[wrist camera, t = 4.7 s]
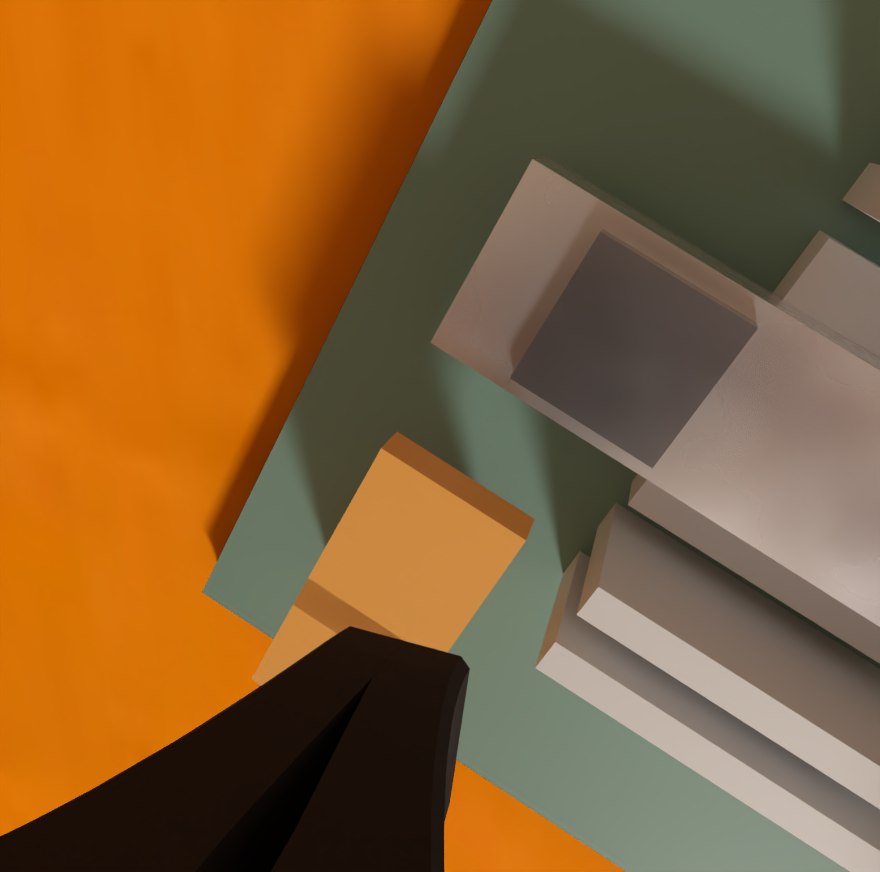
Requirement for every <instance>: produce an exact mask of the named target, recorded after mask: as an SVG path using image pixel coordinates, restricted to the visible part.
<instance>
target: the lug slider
mask: <svg viewBox="0 0 880 872" xmlns="http://www.w3.org/2000/svg"><path fill="white" fill-rule="evenodd" d="M534 520H535V519H534V518H532V517H531V516H529V515H528V514H526V513H525V512H523V511H521V510H520V509H518V508H517V507H515V506H514V505H512V504H510V503H509V502H507V501H506V500H504V499H503V498H501V497H499V496H498V495H496V494H495V493H493V492H492V491H490V490H488V489H487V488H485V487H484V486H482V485H481V484H479V483H477V482H476V481H474V480H473V479H471V478H470V477H468V476H466V475H465V474H463V473H462V472H460V471H458V470H457V469H455V468H454V467H452V466H451V465H449V464H447V463H446V462H444V461H443V460H441V459H440V458H438V457H436V456H435V455H433V454H432V453H430V452H429V451H427V450H425V449H424V448H422V447H421V446H419V445H418V444H416V443H414V442H413V441H411V440H410V439H408V438H407V437H405V436H403V435H402V434H400V433H399V432H396V433H395V434H394V435H393V436H392V437H391V438H390V439H389V440H388V441H387V443H386V444H385V445H384V446H383V447H382V448H381V449H380V451H379V453H378V455H377V456H376V458H375V460H374V462H373V464H372V465H371V467H370V469H369V471H368V472H367V474H366V476H365V478H364V480H363V481H362V483H361V485H360V487H359V488H358V490H357V492H356V494H355V496H354V497H353V499H352V501H351V503H350V504H349V506H348V508H347V510H346V512H345V513H344V515H343V517H342V519H341V520H340V522H339V524H338V526H337V527H336V529H335V531H334V533H333V535H332V536H331V538H330V540H329V542H328V543H327V545H326V547H325V549H324V551H323V552H322V554H321V556H320V558H319V559H318V561H317V563H316V565H315V567H314V568H313V570H312V572H311V574H310V575H309V577H308V579H307V581H306V583H305V584H304V586H303V588H302V590H301V591H300V593H299V595H298V597H297V599H296V600H295V602H294V604H293V606H292V607H291V609H290V611H289V613H288V615H287V616H286V618H285V620H284V622H283V623H282V625H281V627H280V629H279V631H278V632H277V634H276V636H275V638H274V639H273V641H272V643H271V645H270V647H269V648H268V650H267V652H266V654H265V655H264V657H263V659H262V661H261V663H260V664H259V666H258V668H257V670H256V671H255V673H254V675H253V677H252V679H251V680H253V681H254V682H256V683H257V684H259V685H260V686H261V685H263V684H264V683H266V682H267V681H269V680H270V679H272V678H273V677H275V676H276V675H278V674H279V673H281V672H282V671H284V670H285V669H286V668H288V667H289V666H291V665H292V664H294V663H295V662H297V661H298V660H300V659H301V658H302V657H304V656H305V655H307V654H308V653H310V652H311V651H313V650H314V649H315V648H317V647H318V646H320V645H321V644H323V643H324V642H326V641H327V640H329V639H330V638H332V637H333V636H335V635H336V634H338V633H339V632H341V631H343V630H344V629H346V628H348V627H349V626H351V627H355V628H359V629H363V630H366V631H370V632H374V633H377V634H381V635H385V636H388V637H392V638H396V639H400V640H403V641H407V642H411V643H414V644H418V645H422V646H426V647H429V648H433V649H437V650H440V651H444V652H448V651H449V650H450V648H451V647H452V645H453V644H454V643H455V641H456V640H457V638H458V637H459V635H460V634H461V633H462V631H463V630H464V628H465V627H466V625H467V624H468V623H469V621H470V620H471V618H472V617H473V616H474V614H475V613H476V611H477V610H478V608H479V607H480V606H481V604H482V603H483V601H484V600H485V598H486V597H487V596H488V594H489V593H490V591H491V590H492V588H493V587H494V586H495V584H496V583H497V581H498V580H499V579H500V577H501V576H502V574H503V573H504V571H505V570H506V569H507V567H508V566H509V564H510V563H511V561H512V560H513V559H514V557H515V556H516V554H517V553H518V551H519V550H520V549H521V547H522V546H523V544H524V543H525V541H526V540H527V537H528V535H529V532H530V530H531V527H532V525H533V522H534Z"/></svg>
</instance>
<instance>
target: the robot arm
mask: <svg viewBox="0 0 880 872" xmlns="http://www.w3.org/2000/svg"><path fill="white" fill-rule="evenodd" d="M469 671H470V668H469V667H468V665H467V664H466V662H465V661H464V660H463V658H462V657H461V656H459V655H455V654H451V653H448V652H444V651H440V650H437V649H433V648H429V647H426V646H422V645H418V644H414V643H411V642H407V641H403V640H400V639H396V638H392V637H388V636H385V635H381V634H377V633H374V632H370V631H366V630H363V629H359V628H355V627H351V626H349V627H348V628H346V629H344V630H343V631H341V632H339V633H338V634H336V635H335V636H333V637H332V638H330V639H329V640H327V641H326V642H324V643H323V644H321V645H320V646H318V647H317V648H315V649H314V650H313V651H311V652H310V653H308V654H307V655H305V656H304V657H302V658H301V659H300V660H298V661H297V662H295V663H294V664H292V665H291V666H289V667H288V668H286V669H285V670H284V671H282V672H281V673H279V674H278V675H276V676H275V677H273V678H272V679H270V680H269V681H267V682H266V683H264V684H263V685H261V686H260V687H259V688H257V689H256V690H254V691H253V692H251V693H250V694H248V695H247V696H245V697H243V698H242V699H240V700H239V701H237V702H236V703H234V704H233V705H231V706H229V707H228V708H226V709H225V710H223V711H222V712H220V713H219V714H217V715H215V716H214V717H212V718H211V719H209V720H208V721H206V722H205V723H203V724H202V725H200V726H198V727H197V728H195V729H194V730H192V731H191V732H189V733H187V734H186V735H184V736H183V737H181V738H179V739H178V740H176V741H174V742H173V743H171V744H169V745H168V746H166V747H164V748H163V749H161V750H159V751H157V752H156V753H154V754H152V755H151V756H149V757H147V758H145V759H144V760H142V761H140V762H138V763H137V764H135V765H133V766H132V767H130V768H128V769H126V770H125V771H123V772H121V773H119V774H118V775H116V776H114V777H113V778H111V779H109V780H107V781H106V782H104V783H102V784H101V785H99V786H97V787H95V788H93V789H92V790H90V791H88V792H86V793H84V794H83V795H81V796H79V797H77V798H75V799H73V800H71V801H69V802H67V803H66V804H64V805H62V806H60V807H58V808H56V809H54V810H52V811H51V812H49V813H47V814H45V815H43V816H41V817H39V818H37V819H35V820H33V821H31V822H29V823H27V824H25V825H23V826H21V827H19V828H17V829H15V830H13V831H11V832H9V833H7V834H4V835H2V836H0V872H444V821H445V817H446V814H447V810H448V807H449V803H450V797H451V790H452V783H453V777H454V770H455V764H456V757H457V750H458V744H459V737H460V731H461V724H462V717H463V711H464V704H465V698H466V691H467V684H468V678H469Z"/></svg>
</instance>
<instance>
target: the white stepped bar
mask: <svg viewBox="0 0 880 872" xmlns="http://www.w3.org/2000/svg"><path fill="white" fill-rule="evenodd" d="M430 343H432V344H433V345H435V346H437V347H438V348H440V349H441V350H443V351H445V352H446V353H448V354H449V355H451V356H452V357H454V358H456V359H457V360H459V361H460V362H462V363H463V364H465V365H467V366H468V367H470V368H471V369H473V370H475V371H476V372H478V373H479V374H481V375H482V376H484V377H486V378H487V379H489V380H490V381H492V382H493V383H495V384H497V385H498V386H500V387H501V388H503V389H505V390H506V391H508V392H509V393H511V394H512V395H514V396H516V397H517V398H519V399H520V400H522V401H523V402H525V403H527V404H528V405H530V406H531V407H533V408H535V409H536V410H538V411H539V412H541V413H542V414H544V415H546V416H547V417H549V418H550V419H552V420H554V421H555V422H557V423H558V424H560V425H561V426H563V427H565V428H566V429H568V430H569V431H571V432H572V433H574V434H576V435H577V436H579V437H580V438H582V439H584V440H585V441H587V442H588V443H590V444H591V445H593V446H595V447H596V448H598V449H599V450H601V451H602V452H604V453H606V454H607V455H609V456H610V457H612V458H614V459H615V460H617V461H618V462H620V463H621V464H623V465H625V466H626V467H628V468H629V469H631V470H633V471H634V472H636V473H637V474H639V475H640V476H642V477H644V478H645V479H647V480H648V481H650V482H651V483H653V484H655V485H656V486H658V487H659V488H661V489H663V490H664V491H666V492H667V493H669V494H670V495H672V496H674V497H675V498H677V499H678V500H680V501H681V502H683V503H685V504H686V505H688V506H689V507H691V508H693V509H694V510H696V511H697V512H699V513H700V514H702V515H704V516H705V517H707V518H708V519H710V520H711V521H713V522H715V523H716V524H718V525H719V526H721V527H723V528H724V529H726V530H727V531H729V532H730V533H732V534H734V535H735V536H737V537H738V538H740V539H742V540H743V541H745V542H746V543H748V544H749V545H751V546H753V547H754V548H756V549H757V550H759V551H760V552H762V553H764V554H765V555H767V556H768V557H770V558H772V559H773V560H775V561H776V562H778V563H779V564H781V565H783V566H784V567H786V568H787V569H789V570H790V571H792V572H794V573H795V574H797V575H798V576H800V577H802V578H803V579H805V580H806V581H808V582H809V583H811V584H813V585H814V586H816V587H817V588H819V589H820V590H822V591H824V592H825V593H827V594H828V595H830V596H832V597H833V598H835V599H836V600H838V601H839V602H841V603H843V604H844V605H846V606H847V607H849V608H851V609H852V610H854V611H855V612H857V613H858V614H860V615H862V616H863V617H865V618H866V619H868V620H869V621H871V622H873V623H874V624H876V625H877V626H879V627H880V358H879V357H877V356H876V355H874V354H872V353H871V352H869V351H867V350H866V349H864V348H863V347H861V346H859V345H858V344H856V343H854V342H853V341H851V340H849V339H848V338H846V337H844V336H843V335H841V334H840V333H838V332H836V331H835V330H833V329H831V328H830V327H828V326H826V325H825V324H823V323H821V322H820V321H818V320H817V319H815V318H813V317H812V316H810V315H808V314H807V313H805V312H803V311H802V310H800V309H798V308H797V307H795V306H793V305H792V304H790V303H788V302H787V301H785V300H784V299H782V298H780V297H779V296H777V295H775V294H774V293H772V292H771V291H769V290H767V289H766V288H764V287H762V286H761V285H759V284H757V283H756V282H754V281H752V280H751V279H749V278H748V277H746V276H744V275H743V274H741V273H739V272H738V271H736V270H734V269H733V268H731V267H729V266H728V265H726V264H725V263H723V262H721V261H720V260H718V259H716V258H715V257H713V256H711V255H710V254H708V253H706V252H705V251H703V250H702V249H700V248H698V247H697V246H695V245H693V244H692V243H690V242H688V241H687V240H685V239H683V238H682V237H680V236H679V235H677V234H675V233H674V232H672V231H670V230H669V229H667V228H665V227H664V226H662V225H660V224H659V223H657V222H656V221H654V220H652V219H651V218H649V217H647V216H646V215H644V214H642V213H641V212H639V211H637V210H636V209H634V208H633V207H631V206H629V205H628V204H626V203H624V202H623V201H621V200H619V199H618V198H616V197H614V196H613V195H611V194H610V193H608V192H606V191H605V190H603V189H601V188H600V187H598V186H596V185H595V184H593V183H591V182H590V181H588V180H587V179H585V178H583V177H582V176H580V175H578V174H577V173H575V172H573V171H572V170H570V169H568V168H567V167H565V166H564V165H562V164H560V163H559V162H557V161H555V160H554V159H552V158H550V157H549V156H544V157H539V158H534V159H532V161H531V162H530V164H529V166H528V168H527V170H526V171H525V173H524V175H523V177H522V179H521V180H520V182H519V184H518V186H517V188H516V189H515V191H514V193H513V195H512V197H511V198H510V200H509V202H508V204H507V206H506V207H505V209H504V211H503V213H502V215H501V216H500V218H499V220H498V222H497V224H496V225H495V227H494V229H493V231H492V233H491V234H490V236H489V238H488V240H487V242H486V243H485V245H484V247H483V249H482V251H481V252H480V254H479V256H478V258H477V260H476V261H475V263H474V265H473V267H472V268H471V270H470V272H469V274H468V276H467V277H466V279H465V281H464V283H463V285H462V286H461V288H460V290H459V292H458V294H457V295H456V297H455V299H454V301H453V303H452V304H451V306H450V308H449V310H448V312H447V313H446V315H445V317H444V319H443V321H442V322H441V324H440V326H439V328H438V330H437V331H436V333H435V335H434V337H433V339H432V340H431V342H430Z"/></svg>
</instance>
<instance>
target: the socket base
mask: <svg viewBox="0 0 880 872" xmlns="http://www.w3.org/2000/svg"><path fill="white" fill-rule="evenodd" d="M544 156H549V157H550V158H552V159H554V160H555V161H557V162H559V163H560V164H562V165H564V166H565V167H567V168H568V169H570V170H572V171H573V172H575V173H577V174H578V175H580V176H582V177H583V178H585V179H587V180H588V181H590V182H591V183H593V184H595V185H596V186H598V187H600V188H601V189H603V190H605V191H606V192H608V193H610V194H611V195H613V196H614V197H616V198H618V199H619V200H621V201H623V202H624V203H626V204H628V205H629V206H631V207H633V208H634V209H636V210H637V211H639V212H641V213H642V214H644V215H646V216H647V217H649V218H651V219H652V220H654V221H656V222H657V223H659V224H660V225H662V226H664V227H665V228H667V229H669V230H670V231H672V232H674V233H675V234H677V235H679V236H680V237H682V238H683V239H685V240H687V241H688V242H690V243H692V244H693V245H695V246H697V247H698V248H700V249H702V250H703V251H705V252H706V253H708V254H710V255H711V256H713V257H715V258H716V259H718V260H720V261H721V262H723V263H725V264H726V265H728V266H729V267H731V268H733V269H734V270H736V271H738V272H739V273H741V274H743V275H744V276H746V277H748V278H749V279H751V280H752V281H754V282H756V283H757V284H759V285H761V286H762V287H764V288H766V289H767V290H769V291H771V292H772V293H774V294H775V295H777V296H779V297H780V298H782V299H784V300H785V301H787V302H788V303H790V304H792V305H793V306H795V307H797V308H798V309H800V310H802V311H803V312H805V313H807V314H808V315H810V316H812V317H813V318H815V319H817V320H818V321H820V322H821V323H823V324H825V325H826V326H828V327H830V328H831V329H833V330H835V331H836V332H838V333H840V334H841V335H843V336H844V337H846V338H848V339H849V340H851V341H853V342H854V343H856V344H858V345H859V346H861V347H863V348H864V349H866V350H867V351H869V352H871V353H872V354H874V355H876V356H877V357H879V358H880V0H492V2H491V4H490V6H489V8H488V10H487V12H486V14H485V17H484V19H483V21H482V23H481V25H480V27H479V29H478V31H477V33H476V35H475V37H474V39H473V41H472V43H471V45H470V47H469V49H468V51H467V53H466V55H465V57H464V59H463V61H462V63H461V65H460V67H459V70H458V72H457V74H456V76H455V78H454V80H453V82H452V84H451V86H450V88H449V90H448V92H447V94H446V96H445V98H444V100H443V102H442V104H441V106H440V108H439V110H438V112H437V114H436V116H435V118H434V120H433V123H432V125H431V127H430V129H429V131H428V133H427V135H426V137H425V139H424V141H423V143H422V145H421V147H420V149H419V151H418V153H417V155H416V157H415V159H414V161H413V163H412V165H411V167H410V169H409V171H408V173H407V176H406V178H405V180H404V182H403V184H402V186H401V188H400V190H399V192H398V194H397V196H396V198H395V200H394V202H393V204H392V206H391V208H390V210H389V212H388V214H387V216H386V218H385V220H384V222H383V224H382V226H381V229H380V231H379V233H378V235H377V237H376V239H375V241H374V243H373V245H372V247H371V249H370V251H369V253H368V255H367V257H366V259H365V261H364V263H363V265H362V267H361V269H360V271H359V273H358V275H357V277H356V279H355V282H354V284H353V286H352V288H351V290H350V292H349V294H348V296H347V298H346V300H345V302H344V304H343V306H342V308H341V310H340V312H339V314H338V316H337V318H336V320H335V322H334V324H333V326H332V328H331V330H330V332H329V335H328V337H327V339H326V341H325V343H324V345H323V347H322V349H321V351H320V353H319V355H318V357H317V359H316V361H315V363H314V365H313V367H312V369H311V371H310V373H309V375H308V377H307V379H306V381H305V383H304V385H303V388H302V390H301V392H300V394H299V396H298V398H297V400H296V402H295V404H294V406H293V408H292V410H291V412H290V414H289V416H288V418H287V420H286V422H285V424H284V426H283V428H282V430H281V432H280V434H279V436H278V438H277V441H276V443H275V445H274V447H273V449H272V451H271V453H270V455H269V457H268V459H267V461H266V463H265V465H264V467H263V469H262V471H261V473H260V475H259V477H258V479H257V481H256V483H255V485H254V487H253V489H252V491H251V494H250V496H249V498H248V500H247V502H246V504H245V506H244V508H243V510H242V512H241V514H240V516H239V518H238V520H237V522H236V524H235V526H234V528H233V530H232V532H231V534H230V536H229V538H228V540H227V542H226V544H225V547H224V549H223V551H222V553H221V555H220V557H219V559H218V561H217V563H216V565H215V567H214V569H213V571H212V573H211V575H210V577H209V579H208V581H207V583H206V585H205V587H204V589H203V591H202V592H203V593H204V594H206V595H207V596H209V597H210V598H212V599H213V600H215V601H216V602H218V603H219V604H221V605H222V606H224V607H225V608H227V609H228V610H230V611H231V612H233V613H234V614H236V615H237V616H239V617H240V618H242V619H244V620H245V621H247V622H248V623H250V624H251V625H253V626H254V627H256V628H257V629H259V630H260V631H262V632H263V633H265V634H266V635H268V636H269V637H271V638H272V639H274V638H275V636H276V634H277V632H278V631H279V629H280V627H281V625H282V623H283V622H284V620H285V618H286V616H287V615H288V613H289V611H290V609H291V607H292V606H293V604H294V602H295V600H296V599H297V597H298V595H299V593H300V591H301V590H302V588H303V586H304V584H305V583H306V581H307V579H308V577H309V575H310V574H311V572H312V570H313V568H314V567H315V565H316V563H317V561H318V559H319V558H320V556H321V554H322V552H323V551H324V549H325V547H326V545H327V543H328V542H329V540H330V538H331V536H332V535H333V533H334V531H335V529H336V527H337V526H338V524H339V522H340V520H341V519H342V517H343V515H344V513H345V512H346V510H347V508H348V506H349V504H350V503H351V501H352V499H353V497H354V496H355V494H356V492H357V490H358V488H359V487H360V485H361V483H362V481H363V480H364V478H365V476H366V474H367V472H368V471H369V469H370V467H371V465H372V464H373V462H374V460H375V458H376V456H377V455H378V453H379V451H380V449H381V448H382V447H383V446H384V445H385V444H386V443H387V441H388V440H389V439H390V438H391V437H392V436H393V435H394V434H395V433H396V432H399V433H400V434H402V435H403V436H405V437H407V438H408V439H410V440H411V441H413V442H414V443H416V444H418V445H419V446H421V447H422V448H424V449H425V450H427V451H429V452H430V453H432V454H433V455H435V456H436V457H438V458H440V459H441V460H443V461H444V462H446V463H447V464H449V465H451V466H452V467H454V468H455V469H457V470H458V471H460V472H462V473H463V474H465V475H466V476H468V477H470V478H471V479H473V480H474V481H476V482H477V483H479V484H481V485H482V486H484V487H485V488H487V489H488V490H490V491H492V492H493V493H495V494H496V495H498V496H499V497H501V498H503V499H504V500H506V501H507V502H509V503H510V504H512V505H514V506H515V507H517V508H518V509H520V510H521V511H523V512H525V513H526V514H528V515H529V516H531V517H532V518H534V519H535V520H534V522H533V525H532V527H531V530H530V532H529V535H528V537H527V540H526V541H525V543H524V544H523V546H522V547H521V549H520V550H519V551H518V553H517V554H516V556H515V557H514V559H513V560H512V561H511V563H510V564H509V566H508V567H507V569H506V570H505V571H504V573H503V574H502V576H501V577H500V579H499V580H498V581H497V583H496V584H495V586H494V587H493V588H492V590H491V591H490V593H489V594H488V596H487V597H486V598H485V600H484V601H483V603H482V604H481V606H480V607H479V608H478V610H477V611H476V613H475V614H474V616H473V617H472V618H471V620H470V621H469V623H468V624H467V625H466V627H465V628H464V630H463V631H462V633H461V634H460V635H459V637H458V638H457V640H456V641H455V643H454V644H453V645H452V647H451V648H450V650H449V651H448V653H451V654H455V655H459V656H461V657H462V658H463V660H464V661H465V662H466V664H467V665H468V667H469V668H470V671H469V678H468V684H467V691H466V698H465V704H464V711H463V717H462V724H461V731H460V737H459V744H458V750H457V757H456V760H458V761H459V762H461V763H462V764H464V765H465V766H467V767H468V768H470V769H471V770H473V771H474V772H476V773H477V774H479V775H480V776H482V777H483V778H485V779H486V780H488V781H490V782H491V783H493V784H494V785H496V786H497V787H499V788H500V789H502V790H503V791H505V792H506V793H508V794H509V795H511V796H512V797H514V798H515V799H517V800H518V801H520V802H521V803H523V804H524V805H526V806H527V807H529V808H531V809H532V810H534V811H535V812H537V813H538V814H540V815H541V816H543V817H544V818H546V819H547V820H549V821H550V822H552V823H553V824H555V825H556V826H558V827H559V828H561V829H562V830H564V831H565V832H567V833H569V834H570V835H572V836H573V837H575V838H576V839H578V840H579V841H581V842H582V843H584V844H585V845H587V846H588V847H590V848H591V849H593V850H594V851H596V852H597V853H599V854H600V855H602V856H603V857H605V858H606V859H608V860H610V861H611V862H613V863H614V864H616V865H617V866H619V867H620V868H622V869H623V870H625V871H626V872H880V627H879V626H877V625H876V624H874V623H873V622H871V621H869V620H868V619H866V618H865V617H863V616H862V615H860V614H858V613H857V612H855V611H854V610H852V609H851V608H849V607H847V606H846V605H844V604H843V603H841V602H839V601H838V600H836V599H835V598H833V597H832V596H830V595H828V594H827V593H825V592H824V591H822V590H820V589H819V588H817V587H816V586H814V585H813V584H811V583H809V582H808V581H806V580H805V579H803V578H802V577H800V576H798V575H797V574H795V573H794V572H792V571H790V570H789V569H787V568H786V567H784V566H783V565H781V564H779V563H778V562H776V561H775V560H773V559H772V558H770V557H768V556H767V555H765V554H764V553H762V552H760V551H759V550H757V549H756V548H754V547H753V546H751V545H749V544H748V543H746V542H745V541H743V540H742V539H740V538H738V537H737V536H735V535H734V534H732V533H730V532H729V531H727V530H726V529H724V528H723V527H721V526H719V525H718V524H716V523H715V522H713V521H711V520H710V519H708V518H707V517H705V516H704V515H702V514H700V513H699V512H697V511H696V510H694V509H693V508H691V507H689V506H688V505H686V504H685V503H683V502H681V501H680V500H678V499H677V498H675V497H674V496H672V495H670V494H669V493H667V492H666V491H664V490H663V489H661V488H659V487H658V486H656V485H655V484H653V483H651V482H650V481H648V480H647V479H645V478H644V477H642V476H640V475H639V474H637V473H636V472H634V471H633V470H631V469H629V468H628V467H626V466H625V465H623V464H621V463H620V462H618V461H617V460H615V459H614V458H612V457H610V456H609V455H607V454H606V453H604V452H602V451H601V450H599V449H598V448H596V447H595V446H593V445H591V444H590V443H588V442H587V441H585V440H584V439H582V438H580V437H579V436H577V435H576V434H574V433H572V432H571V431H569V430H568V429H566V428H565V427H563V426H561V425H560V424H558V423H557V422H555V421H554V420H552V419H550V418H549V417H547V416H546V415H544V414H542V413H541V412H539V411H538V410H536V409H535V408H533V407H531V406H530V405H528V404H527V403H525V402H523V401H522V400H520V399H519V398H517V397H516V396H514V395H512V394H511V393H509V392H508V391H506V390H505V389H503V388H501V387H500V386H498V385H497V384H495V383H493V382H492V381H490V380H489V379H487V378H486V377H484V376H482V375H481V374H479V373H478V372H476V371H475V370H473V369H471V368H470V367H468V366H467V365H465V364H463V363H462V362H460V361H459V360H457V359H456V358H454V357H452V356H451V355H449V354H448V353H446V352H445V351H443V350H441V349H440V348H438V347H437V346H435V345H433V344H432V343H430V342H431V340H432V339H433V337H434V335H435V333H436V331H437V330H438V328H439V326H440V324H441V322H442V321H443V319H444V317H445V315H446V313H447V312H448V310H449V308H450V306H451V304H452V303H453V301H454V299H455V297H456V295H457V294H458V292H459V290H460V288H461V286H462V285H463V283H464V281H465V279H466V277H467V276H468V274H469V272H470V270H471V268H472V267H473V265H474V263H475V261H476V260H477V258H478V256H479V254H480V252H481V251H482V249H483V247H484V245H485V243H486V242H487V240H488V238H489V236H490V234H491V233H492V231H493V229H494V227H495V225H496V224H497V222H498V220H499V218H500V216H501V215H502V213H503V211H504V209H505V207H506V206H507V204H508V202H509V200H510V198H511V197H512V195H513V193H514V191H515V189H516V188H517V186H518V184H519V182H520V180H521V179H522V177H523V175H524V173H525V171H526V170H527V168H528V166H529V164H530V162H531V161H532V159H534V158H539V157H544Z"/></svg>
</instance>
